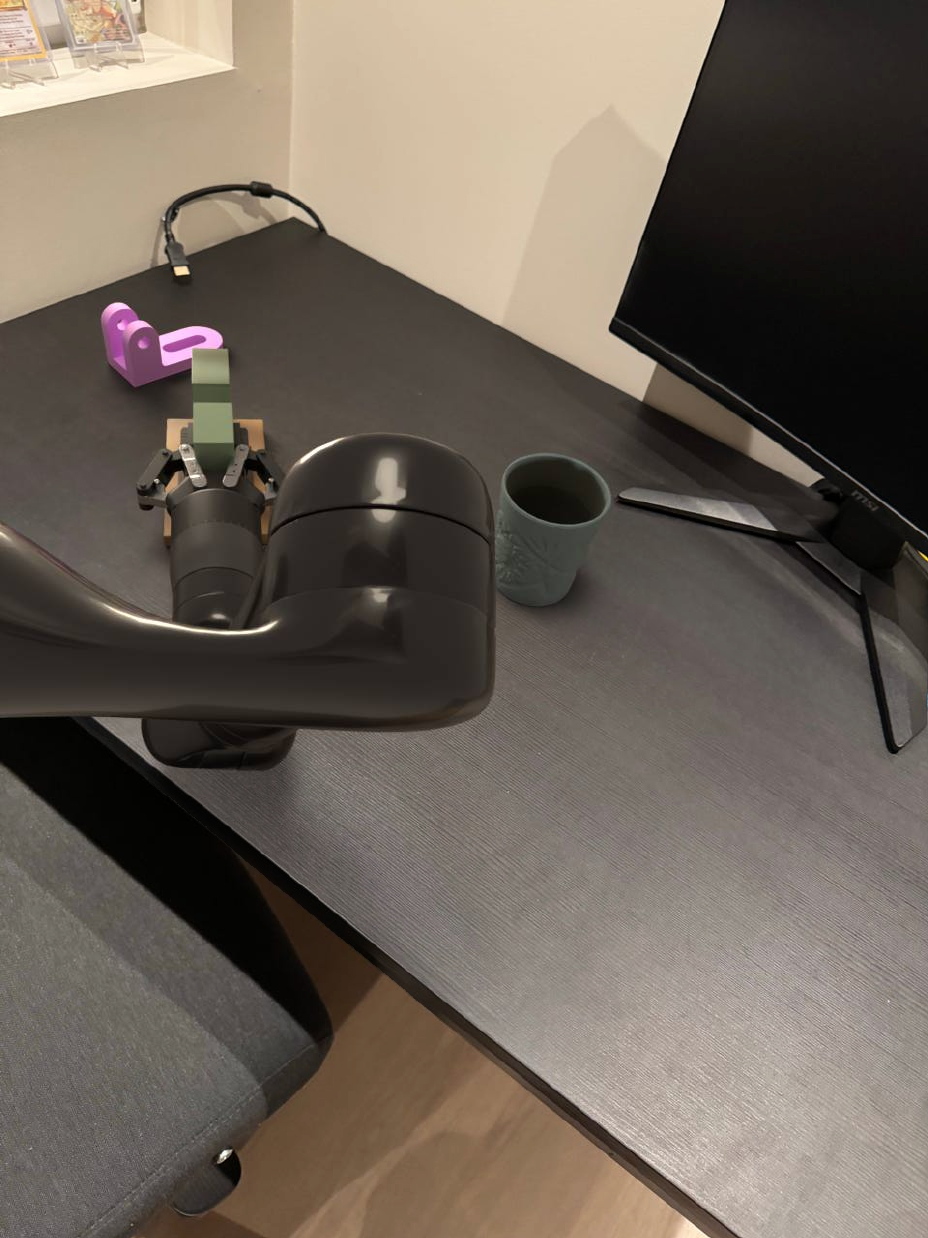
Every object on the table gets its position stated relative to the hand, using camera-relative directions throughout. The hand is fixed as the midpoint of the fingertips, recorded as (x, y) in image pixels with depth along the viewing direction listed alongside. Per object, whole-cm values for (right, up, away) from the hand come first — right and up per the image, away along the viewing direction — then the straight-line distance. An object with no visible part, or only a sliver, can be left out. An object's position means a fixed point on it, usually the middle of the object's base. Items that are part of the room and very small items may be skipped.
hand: (214, 429), depth 81 cm
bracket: (-11, +13, +19) cm, 25 cm away
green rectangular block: (0, -6, +3) cm, 7 cm away
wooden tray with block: (-1, -4, +6) cm, 8 cm away
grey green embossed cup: (+31, -14, +5) cm, 34 cm away
